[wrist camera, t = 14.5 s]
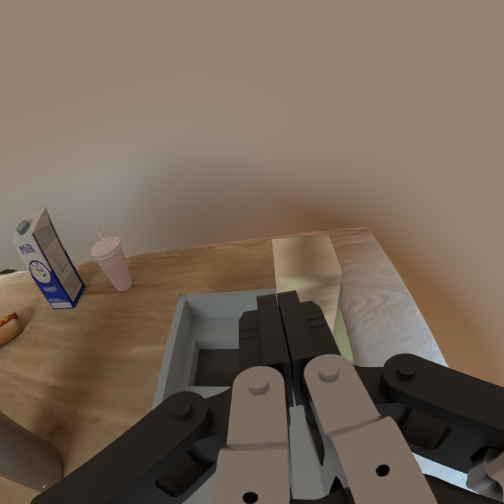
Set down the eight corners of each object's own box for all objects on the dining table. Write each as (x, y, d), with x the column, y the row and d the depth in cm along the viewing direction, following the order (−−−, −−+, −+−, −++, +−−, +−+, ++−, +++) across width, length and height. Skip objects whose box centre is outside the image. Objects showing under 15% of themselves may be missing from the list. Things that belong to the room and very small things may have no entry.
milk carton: (86, 286, 51) (46, 205, 39) (74, 308, 45) (27, 224, 33) (64, 288, 51) (24, 213, 39) (52, 309, 45) (6, 231, 34)
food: (25, 319, 43) (13, 304, 40) (26, 334, 39) (13, 318, 36) (-10, 344, 36) (-23, 330, 33) (-11, 360, 33) (-24, 345, 30)
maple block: (281, 355, 31) (275, 277, 24) (278, 318, 36) (272, 239, 29) (329, 350, 31) (342, 271, 23) (322, 314, 36) (328, 234, 28)
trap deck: (161, 546, 13) (132, 551, 9) (191, 323, 40) (179, 294, 36) (374, 543, 11) (395, 551, 7) (336, 313, 39) (341, 281, 35)
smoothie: (134, 270, 53) (110, 212, 45) (141, 287, 49) (114, 224, 40) (108, 283, 51) (80, 226, 42) (113, 301, 46) (80, 240, 38)
